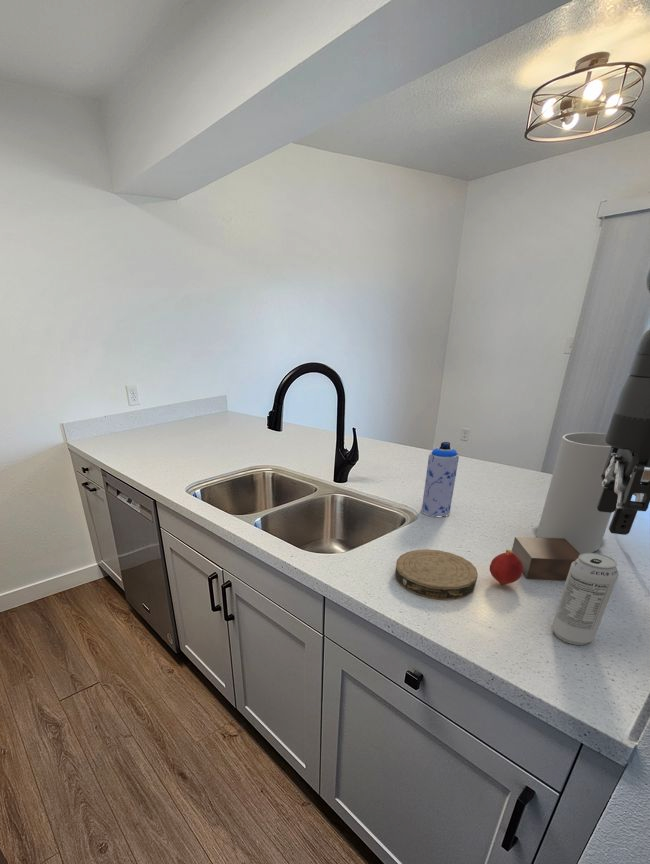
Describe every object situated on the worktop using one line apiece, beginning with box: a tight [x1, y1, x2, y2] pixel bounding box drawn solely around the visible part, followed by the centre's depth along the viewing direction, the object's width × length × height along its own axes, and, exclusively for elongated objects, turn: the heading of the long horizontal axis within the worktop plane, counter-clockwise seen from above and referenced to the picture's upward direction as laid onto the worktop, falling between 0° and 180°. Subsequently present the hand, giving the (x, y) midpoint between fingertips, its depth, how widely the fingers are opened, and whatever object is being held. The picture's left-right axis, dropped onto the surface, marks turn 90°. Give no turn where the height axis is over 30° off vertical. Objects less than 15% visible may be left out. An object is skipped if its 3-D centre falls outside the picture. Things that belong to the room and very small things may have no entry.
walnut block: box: [511, 536, 580, 582], centre depth 93 cm, size 10×10×5 cm
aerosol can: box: [420, 441, 460, 517], centre depth 120 cm, size 8×8×20 cm
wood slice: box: [394, 548, 479, 601], centre depth 92 cm, size 16×16×3 cm
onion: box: [489, 549, 523, 586], centre depth 88 cm, size 6×6×8 cm
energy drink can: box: [551, 552, 619, 646], centre depth 71 cm, size 6×6×15 cm
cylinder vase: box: [535, 432, 612, 554], centre depth 98 cm, size 12×12×25 cm
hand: (611, 521), depth 65 cm, fingers open, 8 cm apart
